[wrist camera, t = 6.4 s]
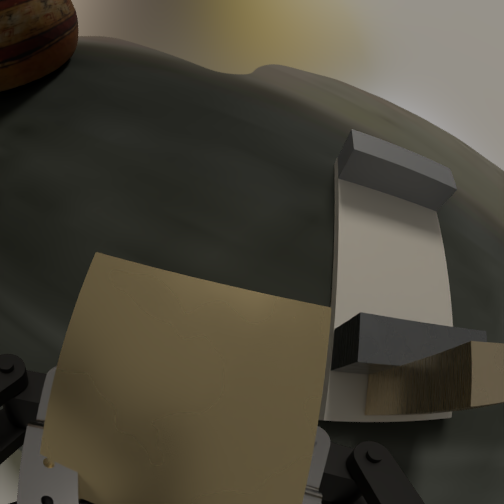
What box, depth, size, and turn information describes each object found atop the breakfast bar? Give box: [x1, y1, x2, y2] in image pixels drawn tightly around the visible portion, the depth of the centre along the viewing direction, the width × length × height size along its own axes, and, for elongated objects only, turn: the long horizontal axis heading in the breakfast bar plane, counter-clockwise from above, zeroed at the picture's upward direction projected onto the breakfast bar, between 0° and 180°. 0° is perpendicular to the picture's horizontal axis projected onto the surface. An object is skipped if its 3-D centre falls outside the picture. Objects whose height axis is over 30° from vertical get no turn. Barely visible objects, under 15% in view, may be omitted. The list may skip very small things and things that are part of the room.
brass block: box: [40, 252, 332, 504], centre depth 9 cm, size 5×5×11 cm
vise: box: [319, 129, 457, 422], centre depth 22 cm, size 12×24×5 cm, turn 170°
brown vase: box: [0, 0, 78, 92], centre depth 21 cm, size 20×20×30 cm
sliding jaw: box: [331, 312, 504, 415], centre depth 15 cm, size 12×6×10 cm, turn 80°
